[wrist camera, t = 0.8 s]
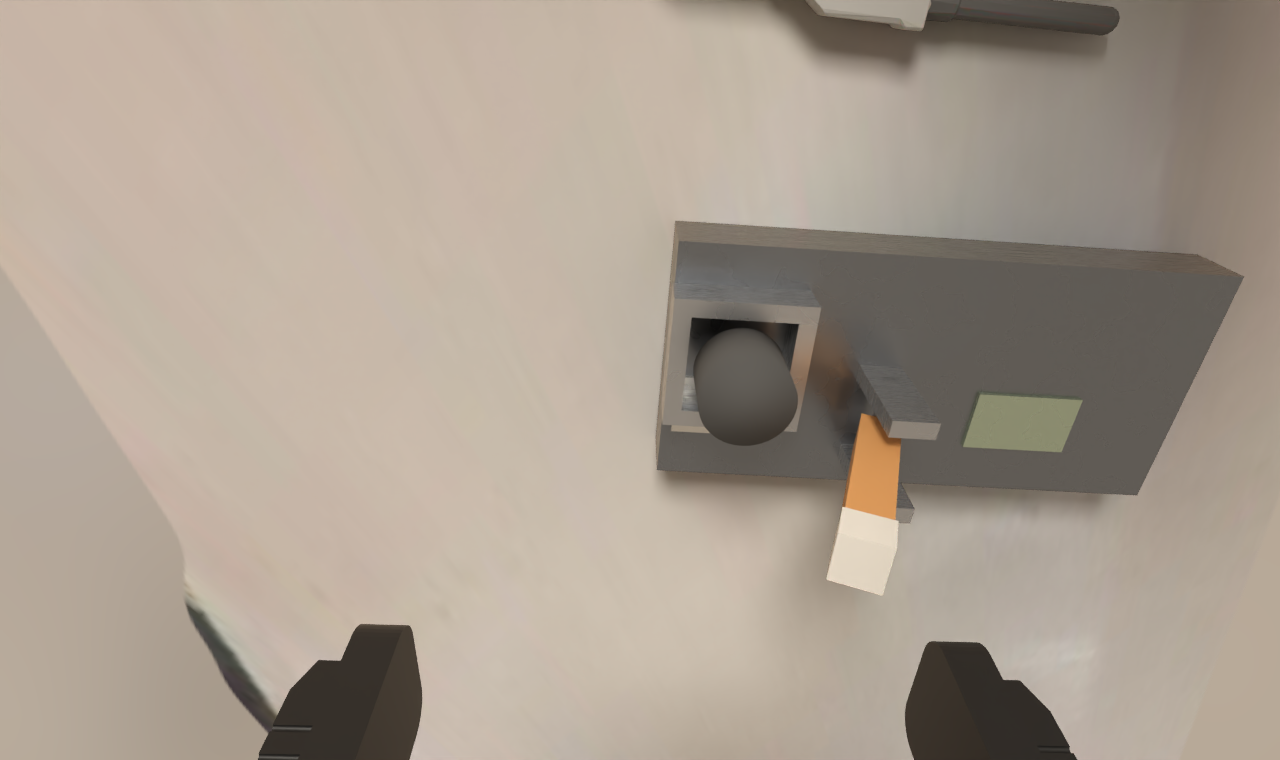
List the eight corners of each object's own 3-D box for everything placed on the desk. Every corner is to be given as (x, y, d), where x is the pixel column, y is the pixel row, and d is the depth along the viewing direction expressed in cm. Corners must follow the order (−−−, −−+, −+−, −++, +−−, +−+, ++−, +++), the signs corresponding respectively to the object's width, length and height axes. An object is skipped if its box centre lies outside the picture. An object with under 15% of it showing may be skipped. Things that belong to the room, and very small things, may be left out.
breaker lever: (859, 410, 33) (837, 532, 25) (905, 420, 33) (896, 548, 25) (850, 451, 34) (826, 579, 26) (893, 461, 34) (882, 595, 26)
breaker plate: (673, 220, 34) (682, 282, 27) (1197, 254, 35) (1340, 323, 28) (653, 437, 39) (657, 535, 32) (1104, 461, 40) (1203, 562, 33)
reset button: (698, 325, 31) (703, 357, 28) (791, 330, 31) (806, 363, 28) (688, 406, 33) (693, 443, 30) (776, 411, 33) (789, 448, 30)
